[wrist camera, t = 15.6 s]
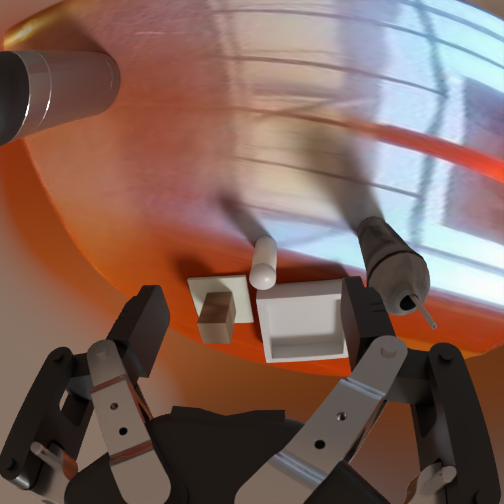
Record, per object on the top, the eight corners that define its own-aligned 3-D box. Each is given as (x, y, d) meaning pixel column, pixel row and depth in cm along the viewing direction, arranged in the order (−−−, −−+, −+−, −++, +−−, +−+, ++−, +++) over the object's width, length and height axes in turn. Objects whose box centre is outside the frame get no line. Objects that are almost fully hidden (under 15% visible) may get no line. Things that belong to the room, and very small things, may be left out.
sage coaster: (201, 321, 51) (200, 323, 51) (188, 278, 47) (187, 280, 46) (254, 319, 50) (253, 322, 49) (245, 274, 45) (245, 276, 45)
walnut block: (212, 312, 49) (203, 343, 43) (207, 292, 47) (196, 323, 41) (236, 311, 48) (230, 343, 42) (232, 291, 47) (225, 323, 40)
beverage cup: (337, 233, 41) (369, 342, 24) (374, 196, 38) (437, 287, 20) (370, 263, 43) (411, 371, 25) (406, 229, 39) (469, 326, 22)
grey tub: (267, 347, 53) (266, 362, 50) (257, 284, 46) (255, 299, 43) (345, 342, 51) (348, 357, 48) (350, 278, 44) (355, 292, 41)
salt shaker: (256, 256, 44) (250, 290, 37) (253, 236, 42) (247, 268, 35) (277, 255, 43) (276, 289, 36) (276, 235, 42) (275, 267, 35)
